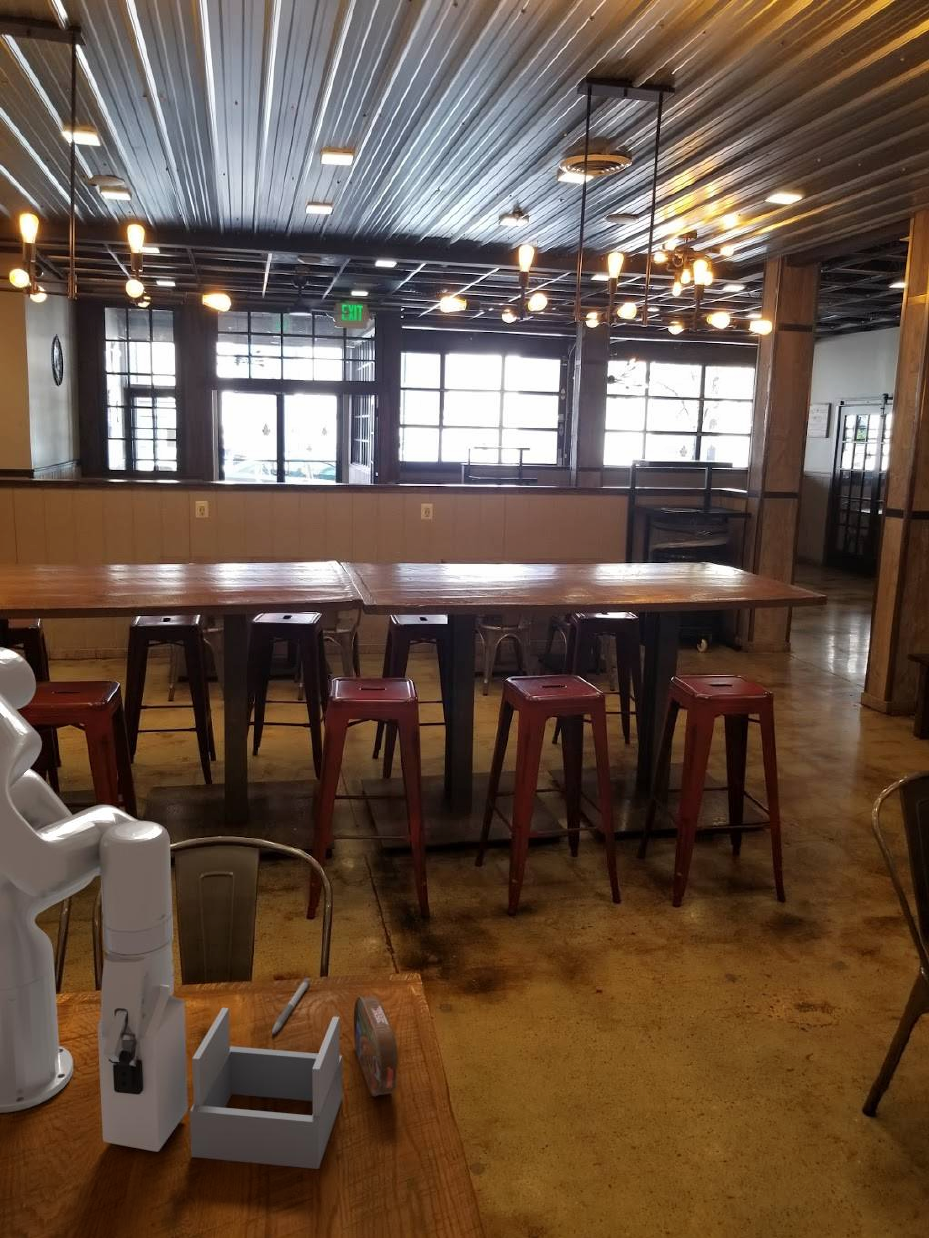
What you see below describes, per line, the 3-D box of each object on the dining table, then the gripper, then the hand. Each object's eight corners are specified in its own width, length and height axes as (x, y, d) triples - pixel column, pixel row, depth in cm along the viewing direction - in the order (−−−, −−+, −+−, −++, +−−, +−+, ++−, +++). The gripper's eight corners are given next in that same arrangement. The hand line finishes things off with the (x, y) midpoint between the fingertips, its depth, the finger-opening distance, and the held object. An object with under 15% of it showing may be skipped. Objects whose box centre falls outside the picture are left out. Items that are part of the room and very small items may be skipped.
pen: (311, 984, 147) (311, 976, 146) (276, 1039, 133) (276, 1030, 133) (305, 983, 147) (305, 975, 147) (269, 1038, 133) (269, 1029, 133)
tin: (351, 1039, 133) (351, 984, 132) (373, 1035, 134) (374, 981, 133) (376, 1111, 119) (376, 1051, 118) (400, 1107, 120) (401, 1046, 119)
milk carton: (158, 1153, 110) (153, 1003, 107) (102, 1142, 112) (95, 994, 108) (188, 1111, 117) (184, 969, 114) (135, 1102, 119) (129, 961, 115)
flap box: (191, 1156, 111) (188, 1063, 109) (226, 1087, 123) (224, 1002, 120) (318, 1168, 110) (318, 1075, 107) (342, 1098, 121) (341, 1012, 119)
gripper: (139, 892, 118) (144, 1021, 122) (68, 969, 101) (77, 1116, 105) (198, 897, 118) (202, 1026, 121) (137, 974, 101) (143, 1123, 104)
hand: (144, 1067), depth 113 cm, fingers closed on milk carton, 7 cm apart
